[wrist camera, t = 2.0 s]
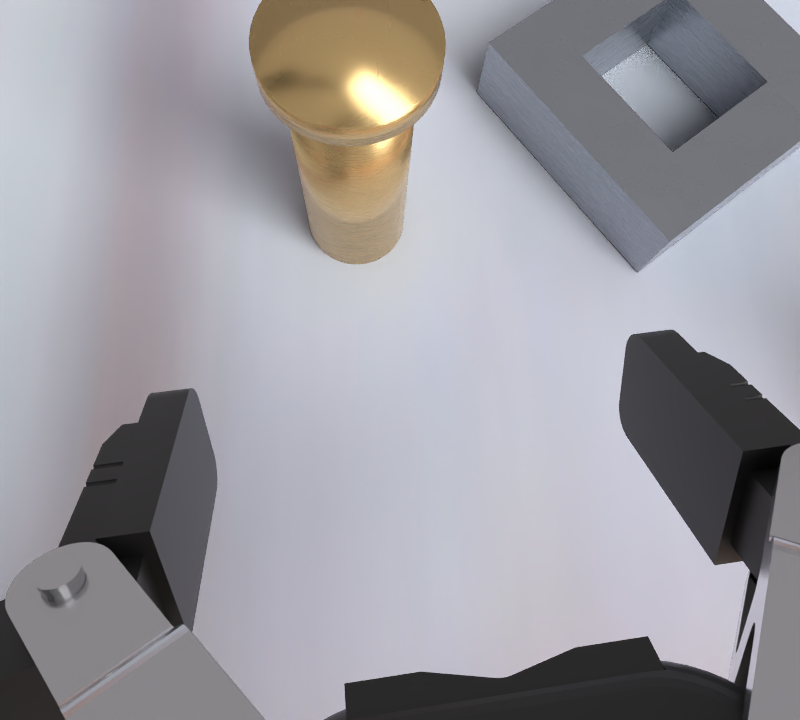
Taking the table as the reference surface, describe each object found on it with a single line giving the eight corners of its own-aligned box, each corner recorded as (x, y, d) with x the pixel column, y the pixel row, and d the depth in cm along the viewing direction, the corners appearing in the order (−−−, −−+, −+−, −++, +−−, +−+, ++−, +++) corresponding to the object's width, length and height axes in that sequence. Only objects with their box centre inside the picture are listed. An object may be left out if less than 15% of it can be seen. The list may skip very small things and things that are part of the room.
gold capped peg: (270, 208, 31) (210, 21, 20) (368, 143, 32) (366, -71, 21) (343, 302, 30) (327, 163, 19) (442, 232, 31) (484, 59, 20)
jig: (476, 92, 33) (488, 42, 30) (649, -24, 35) (679, -82, 32) (637, 272, 31) (670, 241, 28) (810, 138, 33) (860, 94, 30)
